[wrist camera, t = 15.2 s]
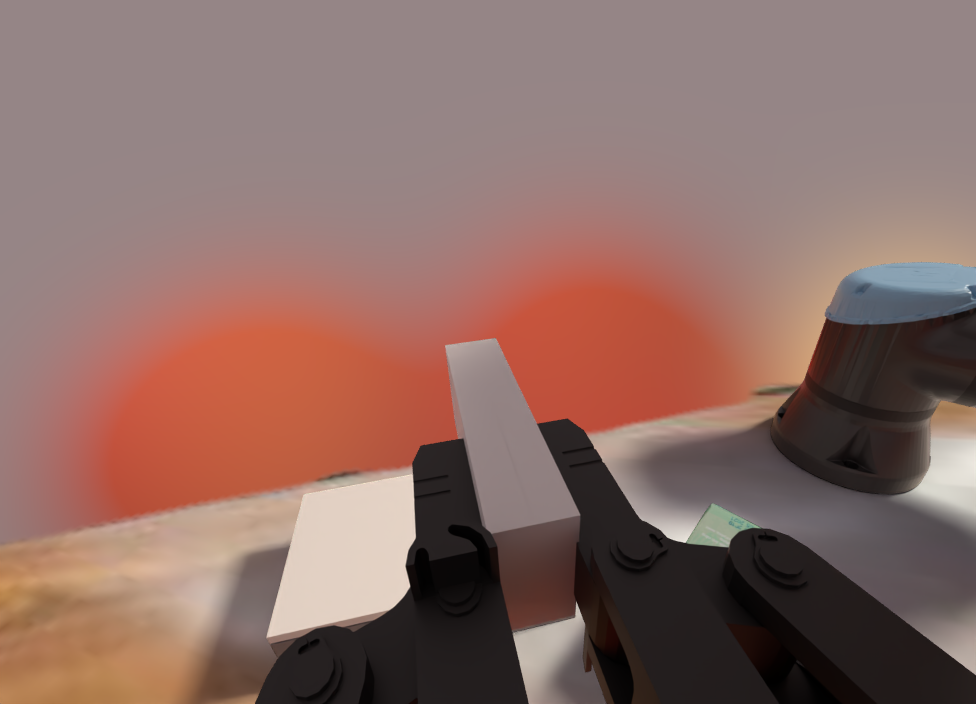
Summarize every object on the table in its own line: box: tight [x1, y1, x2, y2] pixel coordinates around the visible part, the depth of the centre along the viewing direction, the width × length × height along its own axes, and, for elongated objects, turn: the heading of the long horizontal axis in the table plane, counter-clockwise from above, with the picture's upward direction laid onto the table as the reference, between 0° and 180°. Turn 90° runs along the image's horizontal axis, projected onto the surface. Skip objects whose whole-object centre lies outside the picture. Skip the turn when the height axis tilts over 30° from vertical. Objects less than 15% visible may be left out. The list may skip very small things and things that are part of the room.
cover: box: [266, 474, 416, 644], centre depth 38 cm, size 24×14×1 cm, turn 101°
